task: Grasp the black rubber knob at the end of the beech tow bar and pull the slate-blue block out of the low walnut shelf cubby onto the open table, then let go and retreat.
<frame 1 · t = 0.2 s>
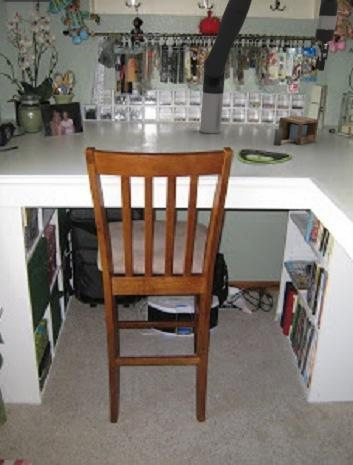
hand: (319, 69, 200), 29 cm above the table, fingers open, 8 cm apart
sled: (297, 140, 203), on the table
shelf: (295, 140, 203), on the table
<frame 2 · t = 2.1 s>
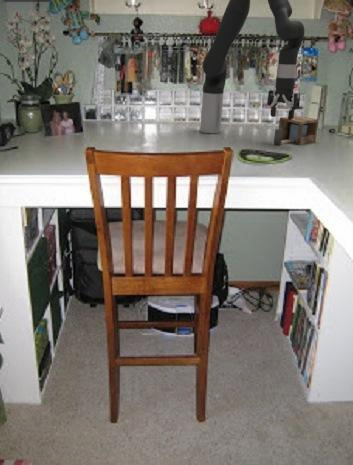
hand: (281, 118, 191), 11 cm above the table, fingers open, 8 cm apart
nothing on the table moved.
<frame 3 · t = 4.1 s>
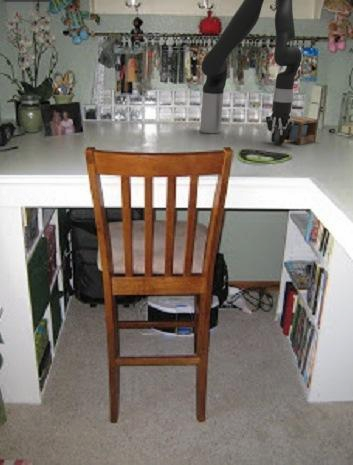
hand: (277, 142, 195), 1 cm above the table, fingers closed on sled, 3 cm apart
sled: (297, 140, 203), on the table, touching gripper
everything else where it was.
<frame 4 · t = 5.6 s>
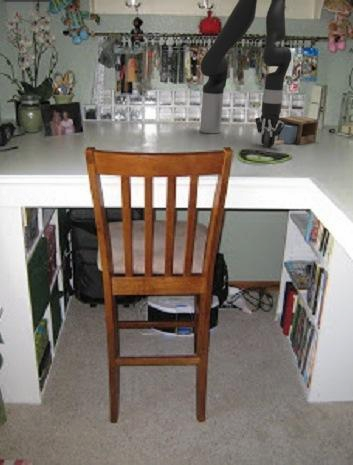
hand: (267, 144, 191), 1 cm above the table, fingers closed on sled, 3 cm apart
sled: (287, 142, 200), on the table, touching gripper
everything else where it was.
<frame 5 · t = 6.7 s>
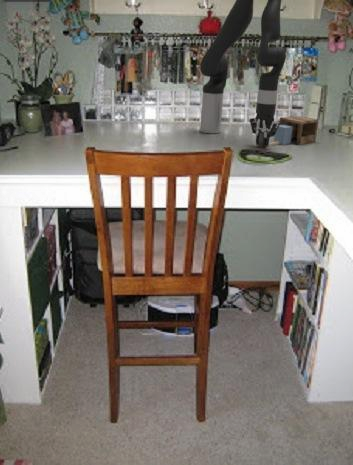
hand: (261, 145, 189), 1 cm above the table, fingers closed on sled, 3 cm apart
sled: (282, 143, 198), on the table, touching gripper
everything else where it was.
when the fingers open (1 cm above the table, at t = 7.2 s): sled stays where it is, on the table.
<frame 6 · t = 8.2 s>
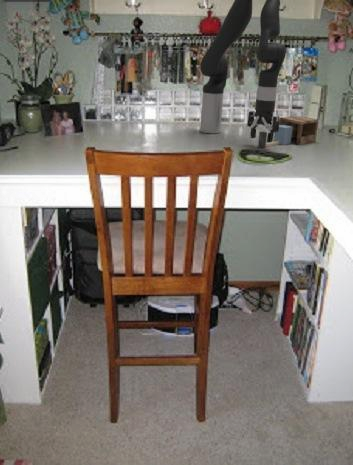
hand: (260, 140, 188), 3 cm above the table, fingers open, 8 cm apart
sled: (282, 143, 198), on the table
everything else where it was.
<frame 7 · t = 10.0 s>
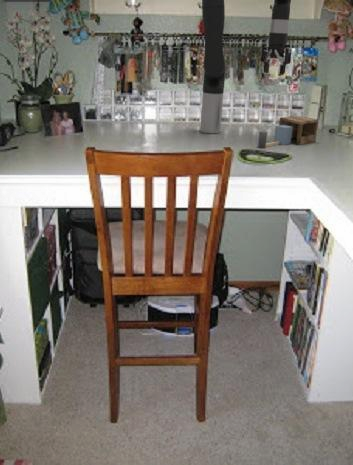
hand: (273, 73, 198), 27 cm above the table, fingers open, 8 cm apart
nothing on the table moved.
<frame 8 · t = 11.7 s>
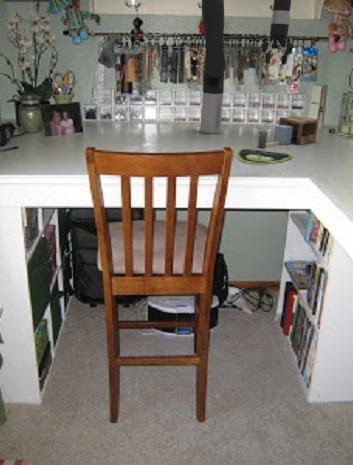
hand: (275, 64, 203), 30 cm above the table, fingers open, 8 cm apart
nothing on the table moved.
at the end: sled moved 9.8 cm from its start; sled inside the target area (4.6 cm from its centre), on the table; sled tilted 0° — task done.
